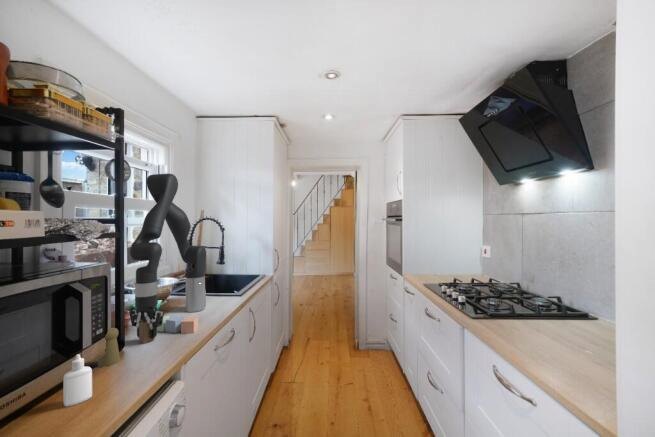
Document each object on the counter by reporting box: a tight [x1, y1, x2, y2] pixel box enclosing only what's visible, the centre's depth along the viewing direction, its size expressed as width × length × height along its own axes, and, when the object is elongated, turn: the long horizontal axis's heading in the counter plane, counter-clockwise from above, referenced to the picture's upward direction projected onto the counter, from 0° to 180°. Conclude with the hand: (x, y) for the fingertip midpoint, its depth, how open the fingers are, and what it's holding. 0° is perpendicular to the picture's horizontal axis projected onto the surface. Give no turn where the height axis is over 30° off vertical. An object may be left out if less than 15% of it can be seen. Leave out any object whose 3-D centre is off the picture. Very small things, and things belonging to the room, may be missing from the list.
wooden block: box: [138, 319, 155, 344], centre depth 114 cm, size 4×4×8 cm
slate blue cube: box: [165, 315, 185, 334], centre depth 125 cm, size 5×5×5 cm
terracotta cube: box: [180, 317, 199, 335], centre depth 124 cm, size 5×5×5 cm
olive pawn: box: [97, 327, 121, 368], centre depth 97 cm, size 6×6×11 cm
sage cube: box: [152, 315, 171, 332], centre depth 126 cm, size 5×5×5 cm
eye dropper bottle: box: [62, 353, 93, 407], centre depth 76 cm, size 4×6×12 cm
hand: (146, 337), depth 114 cm, fingers closed on wooden block, 5 cm apart
